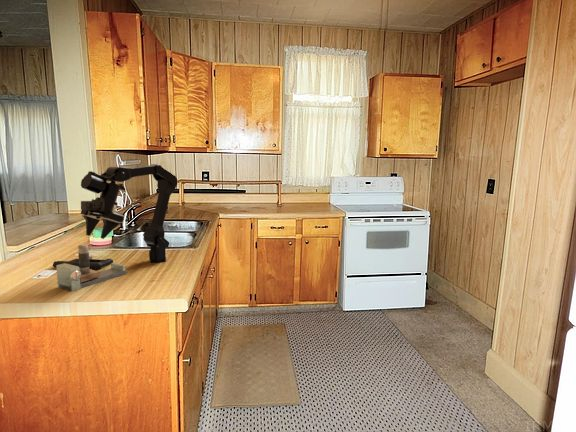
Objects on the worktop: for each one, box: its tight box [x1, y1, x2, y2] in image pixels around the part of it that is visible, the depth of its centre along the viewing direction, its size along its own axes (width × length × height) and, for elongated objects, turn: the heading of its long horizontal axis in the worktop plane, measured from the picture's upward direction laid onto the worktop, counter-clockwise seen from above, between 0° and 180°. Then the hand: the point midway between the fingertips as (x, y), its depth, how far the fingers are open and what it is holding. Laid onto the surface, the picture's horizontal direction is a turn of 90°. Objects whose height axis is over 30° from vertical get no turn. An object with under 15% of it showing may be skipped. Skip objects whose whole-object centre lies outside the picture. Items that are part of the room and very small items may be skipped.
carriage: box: [77, 244, 100, 282], centre depth 128 cm, size 7×6×12 cm
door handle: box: [52, 255, 114, 271], centre depth 151 cm, size 3×20×16 cm
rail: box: [55, 262, 127, 292], centre depth 131 cm, size 22×9×8 cm, turn 153°
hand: (94, 237), depth 132 cm, fingers open, 9 cm apart
